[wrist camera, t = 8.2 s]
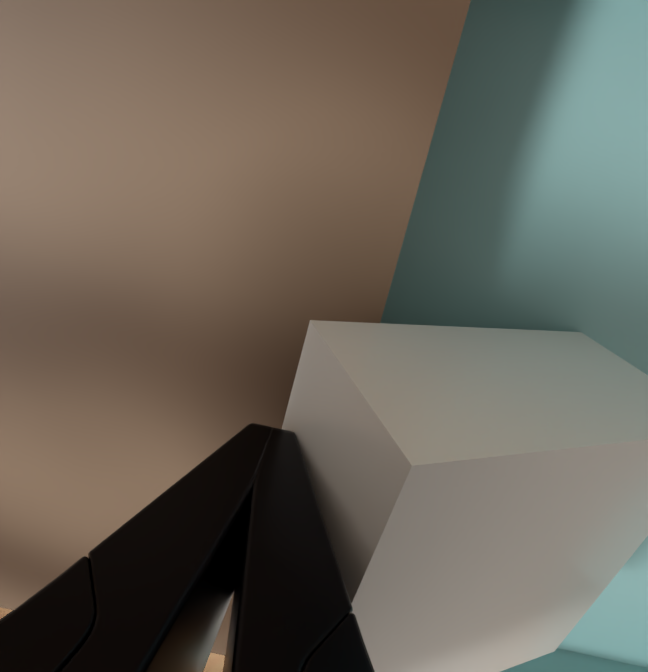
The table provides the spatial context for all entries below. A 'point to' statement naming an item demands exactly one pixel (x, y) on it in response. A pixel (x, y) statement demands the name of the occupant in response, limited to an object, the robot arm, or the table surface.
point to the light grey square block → (471, 483)
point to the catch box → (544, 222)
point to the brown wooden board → (186, 233)
